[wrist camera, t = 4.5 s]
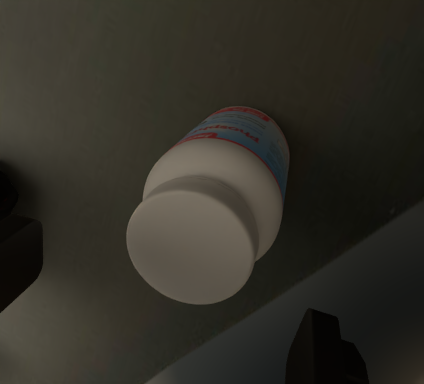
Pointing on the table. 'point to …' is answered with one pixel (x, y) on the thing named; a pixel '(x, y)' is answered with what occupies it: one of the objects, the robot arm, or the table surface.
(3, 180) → the crumpled patterned cloth
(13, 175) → the table surface
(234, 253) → the pill bottle
